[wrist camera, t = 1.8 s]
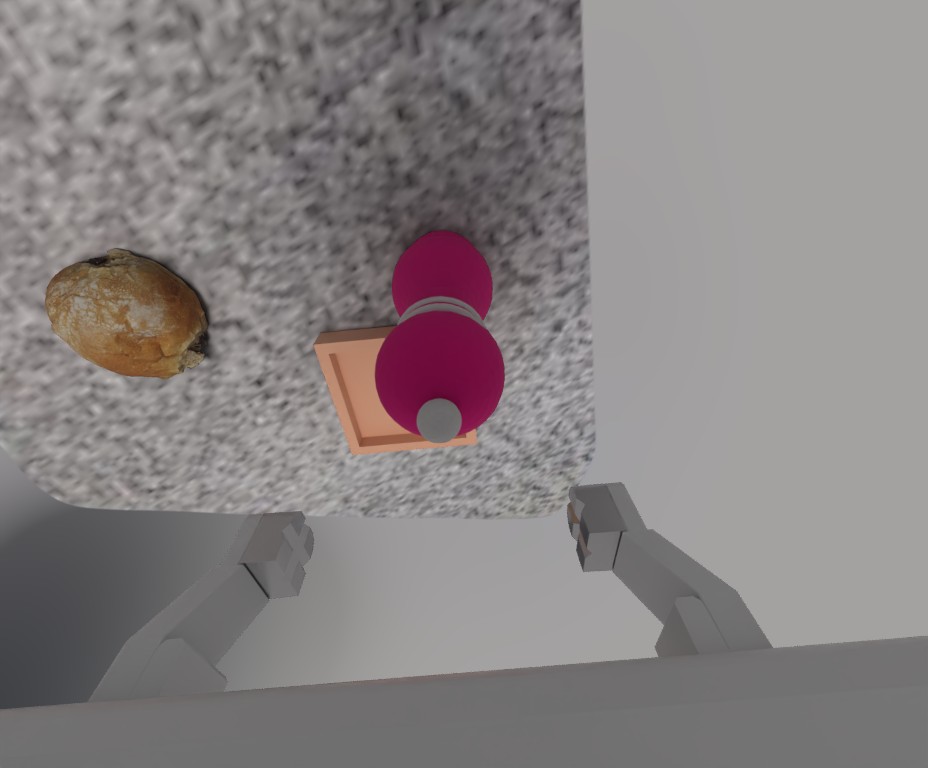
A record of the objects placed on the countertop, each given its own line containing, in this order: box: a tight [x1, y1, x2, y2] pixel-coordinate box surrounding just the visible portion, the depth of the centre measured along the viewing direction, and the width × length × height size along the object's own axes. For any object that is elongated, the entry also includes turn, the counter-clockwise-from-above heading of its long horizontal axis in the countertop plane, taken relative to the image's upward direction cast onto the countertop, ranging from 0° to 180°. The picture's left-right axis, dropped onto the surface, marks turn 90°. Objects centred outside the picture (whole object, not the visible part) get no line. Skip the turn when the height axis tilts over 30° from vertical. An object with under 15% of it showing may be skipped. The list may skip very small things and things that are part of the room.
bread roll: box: [45, 249, 208, 379], centre depth 30 cm, size 10×10×8 cm
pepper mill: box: [375, 231, 505, 444], centre depth 22 cm, size 7×7×20 cm
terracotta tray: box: [313, 326, 477, 455], centre depth 36 cm, size 13×13×2 cm
